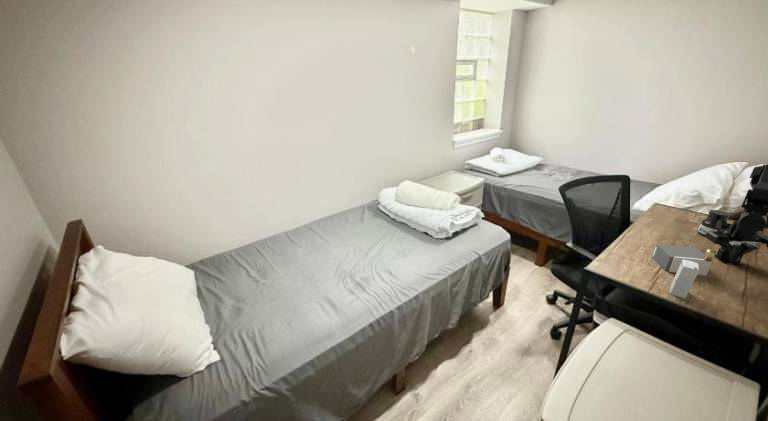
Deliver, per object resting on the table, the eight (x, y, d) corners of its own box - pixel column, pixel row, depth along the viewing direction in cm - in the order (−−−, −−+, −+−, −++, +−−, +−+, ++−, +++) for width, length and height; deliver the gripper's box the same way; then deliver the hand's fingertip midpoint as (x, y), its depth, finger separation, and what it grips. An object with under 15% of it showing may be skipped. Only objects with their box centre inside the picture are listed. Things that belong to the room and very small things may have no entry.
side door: (703, 273, 122) (714, 249, 117) (707, 276, 120) (718, 252, 115) (667, 269, 125) (676, 246, 120) (670, 273, 122) (680, 249, 118)
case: (690, 261, 130) (696, 247, 128) (706, 274, 121) (713, 260, 119) (651, 257, 133) (656, 244, 131) (664, 270, 124) (670, 256, 122)
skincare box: (669, 286, 115) (681, 258, 111) (686, 290, 113) (698, 262, 108) (669, 294, 111) (681, 265, 106) (686, 299, 108) (699, 270, 104)
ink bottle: (691, 230, 155) (700, 208, 151) (710, 230, 155) (720, 208, 150) (708, 239, 147) (718, 216, 142) (728, 240, 146) (739, 217, 141)
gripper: (764, 215, 115) (745, 251, 121) (703, 211, 119) (688, 246, 126) (791, 228, 105) (770, 267, 111) (724, 223, 110) (707, 261, 116)
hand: (731, 259), depth 116 cm, fingers closed
